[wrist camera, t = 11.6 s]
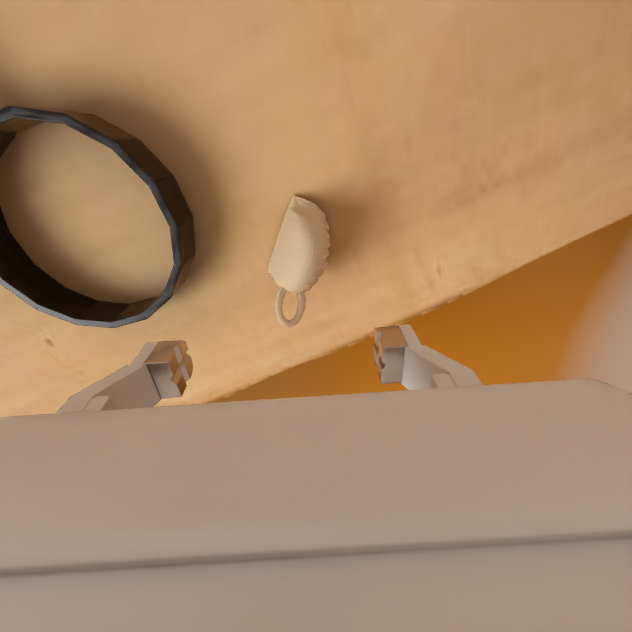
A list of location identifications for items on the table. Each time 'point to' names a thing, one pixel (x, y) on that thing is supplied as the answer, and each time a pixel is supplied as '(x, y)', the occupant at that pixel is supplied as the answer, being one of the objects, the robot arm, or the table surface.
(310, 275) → the decorative ornament
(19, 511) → the robot arm
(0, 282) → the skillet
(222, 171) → the table surface
